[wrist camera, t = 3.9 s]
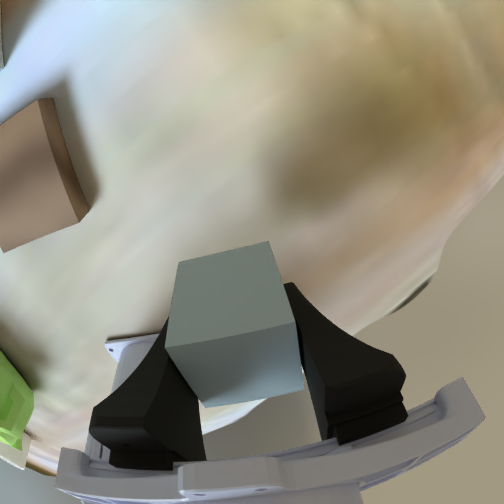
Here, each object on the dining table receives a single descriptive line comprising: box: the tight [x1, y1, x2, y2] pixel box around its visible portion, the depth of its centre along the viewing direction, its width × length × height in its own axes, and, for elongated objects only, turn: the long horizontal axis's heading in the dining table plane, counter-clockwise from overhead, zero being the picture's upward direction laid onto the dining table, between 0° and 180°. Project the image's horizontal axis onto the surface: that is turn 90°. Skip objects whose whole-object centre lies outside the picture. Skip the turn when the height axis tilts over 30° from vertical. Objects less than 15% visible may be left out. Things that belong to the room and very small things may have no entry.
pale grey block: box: [165, 241, 304, 408], centre depth 13 cm, size 4×4×6 cm
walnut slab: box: [0, 98, 90, 253], centre depth 15 cm, size 9×9×2 cm
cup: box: [0, 432, 31, 470], centre depth 36 cm, size 8×12×10 cm
